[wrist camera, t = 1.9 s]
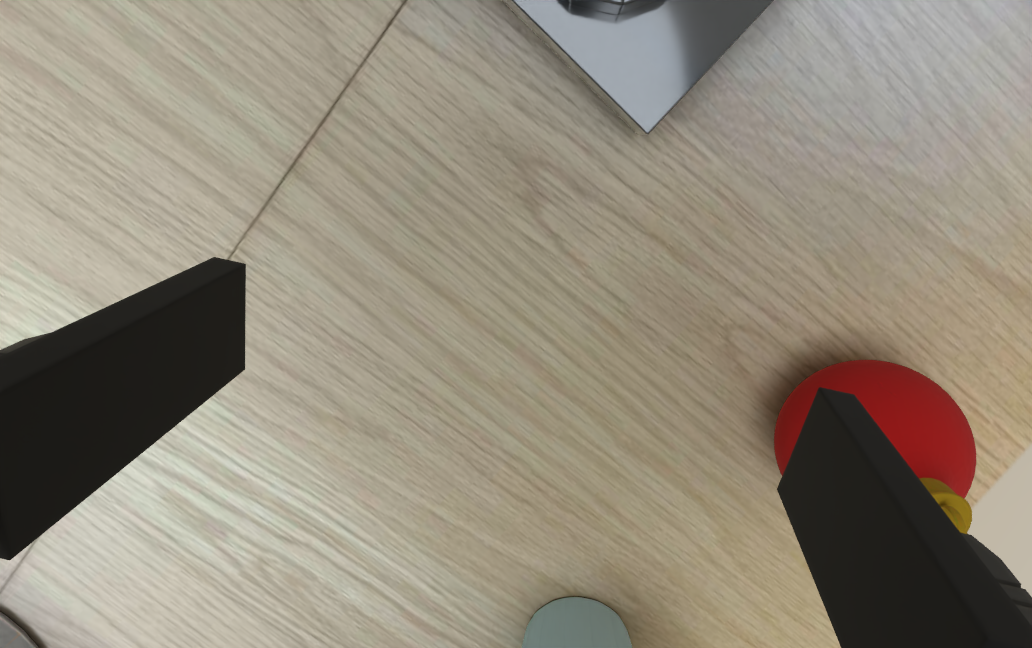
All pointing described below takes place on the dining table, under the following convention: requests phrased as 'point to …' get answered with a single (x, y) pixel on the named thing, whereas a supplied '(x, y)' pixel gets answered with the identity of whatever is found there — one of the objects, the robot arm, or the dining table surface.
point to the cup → (576, 626)
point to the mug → (13, 635)
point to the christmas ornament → (897, 426)
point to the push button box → (639, 46)
